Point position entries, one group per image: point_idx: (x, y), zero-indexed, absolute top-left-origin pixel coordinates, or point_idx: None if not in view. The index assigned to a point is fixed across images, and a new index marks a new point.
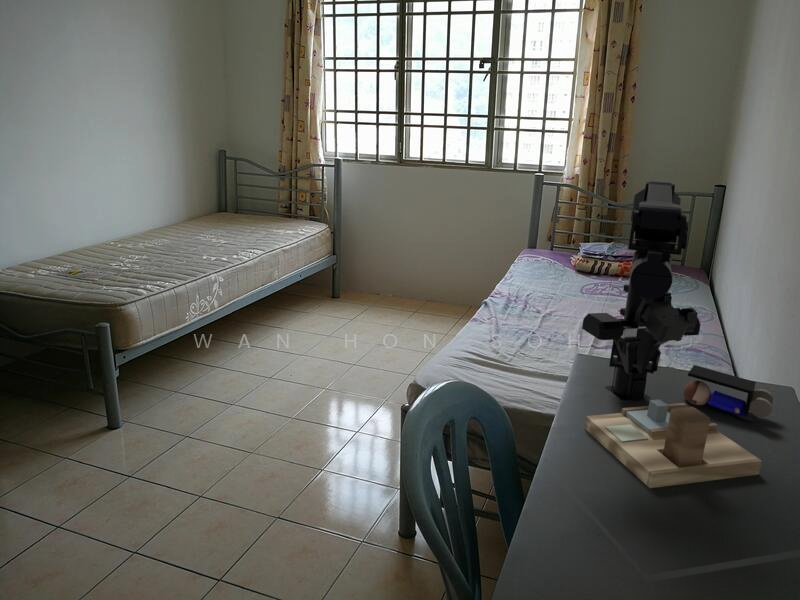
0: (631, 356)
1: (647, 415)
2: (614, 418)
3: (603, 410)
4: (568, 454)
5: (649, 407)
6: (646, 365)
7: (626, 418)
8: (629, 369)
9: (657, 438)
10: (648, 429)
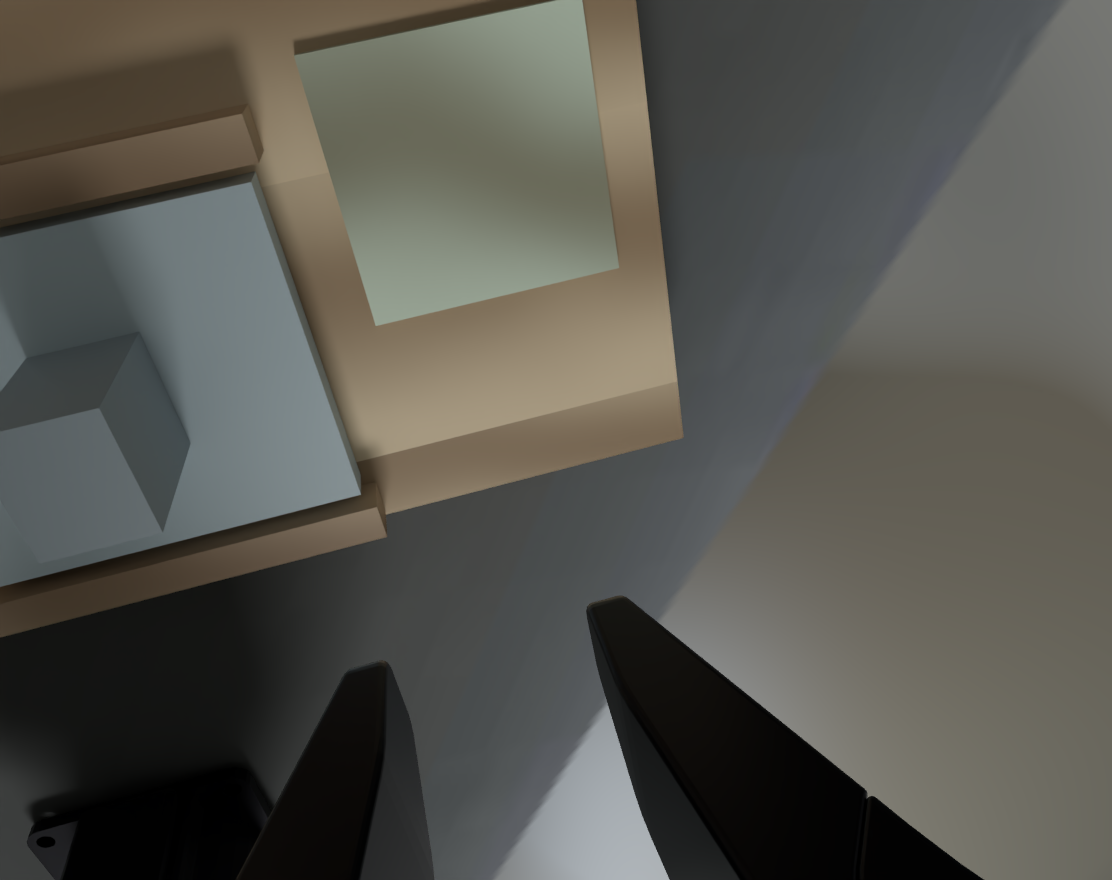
0: (809, 833)
1: (189, 440)
2: (473, 424)
3: (405, 654)
4: (896, 52)
5: (170, 479)
6: (314, 767)
7: (370, 433)
8: (654, 632)
9: (188, 75)
10: (255, 190)
